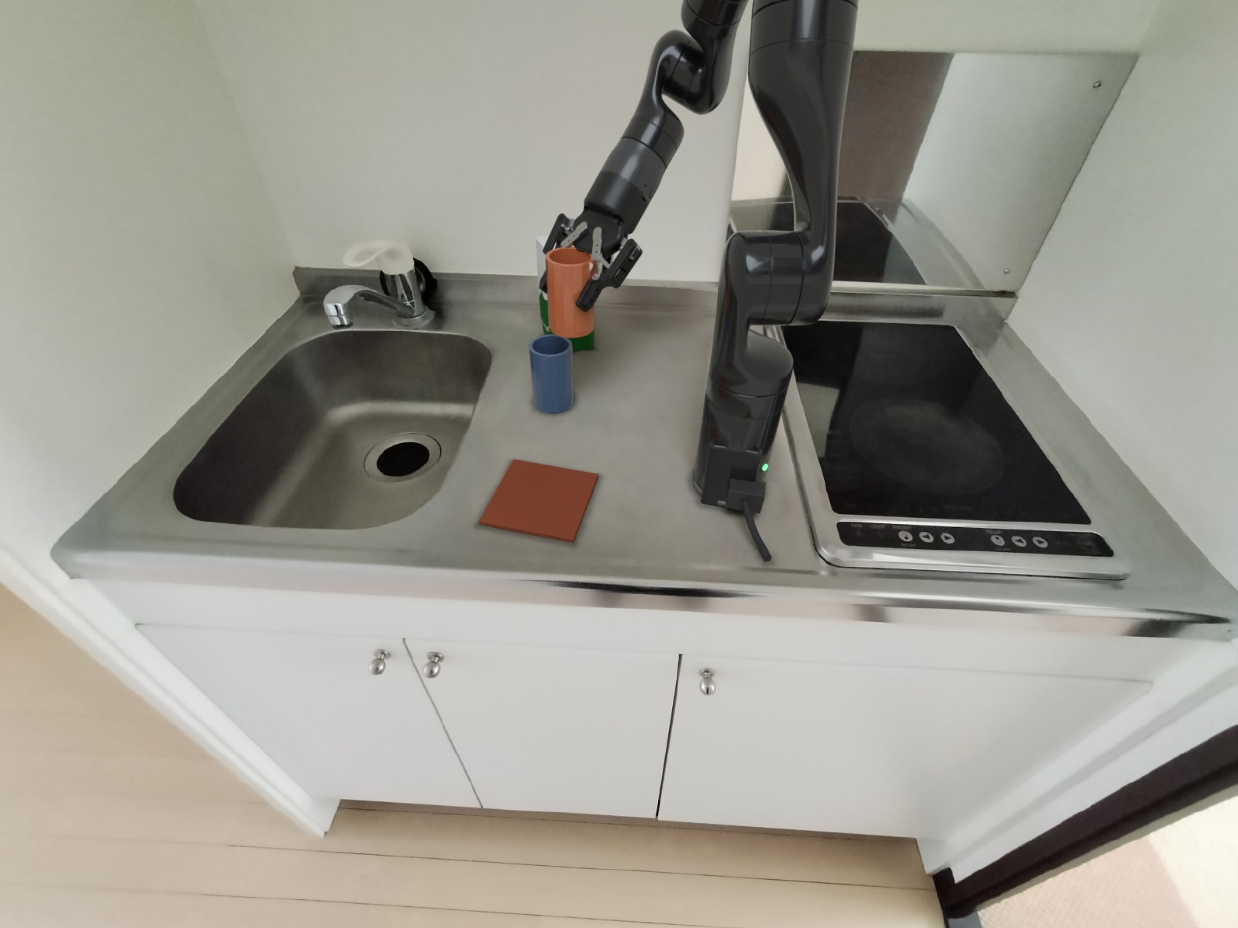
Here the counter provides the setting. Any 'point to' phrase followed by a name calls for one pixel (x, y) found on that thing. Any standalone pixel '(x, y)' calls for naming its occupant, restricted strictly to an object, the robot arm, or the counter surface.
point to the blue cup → (552, 373)
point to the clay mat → (540, 500)
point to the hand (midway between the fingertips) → (562, 300)
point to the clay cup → (568, 291)
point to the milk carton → (578, 342)
